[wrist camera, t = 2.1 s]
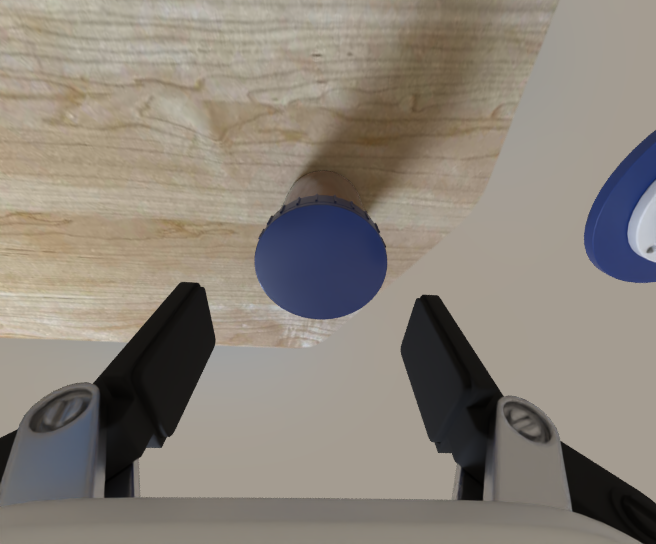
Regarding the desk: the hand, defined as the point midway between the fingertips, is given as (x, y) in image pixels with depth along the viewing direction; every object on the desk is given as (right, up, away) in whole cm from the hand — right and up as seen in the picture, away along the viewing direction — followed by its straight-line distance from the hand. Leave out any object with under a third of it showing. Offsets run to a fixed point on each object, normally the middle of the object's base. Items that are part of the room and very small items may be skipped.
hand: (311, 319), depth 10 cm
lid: (0, +2, +4) cm, 4 cm away
